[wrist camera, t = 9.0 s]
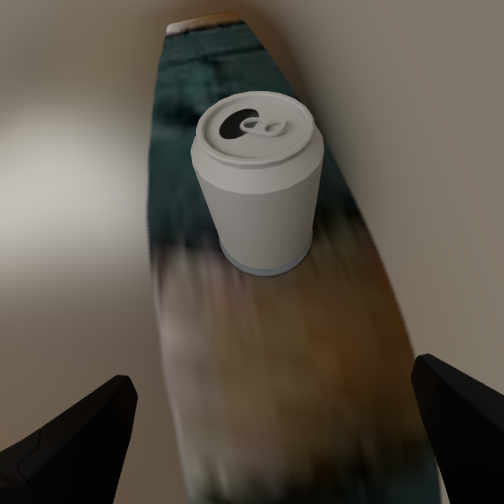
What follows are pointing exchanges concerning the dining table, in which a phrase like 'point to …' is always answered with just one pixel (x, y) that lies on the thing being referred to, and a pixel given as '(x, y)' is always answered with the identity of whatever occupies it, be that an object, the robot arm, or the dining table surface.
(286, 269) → the coaster
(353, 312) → the dining table surface
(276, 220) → the can
